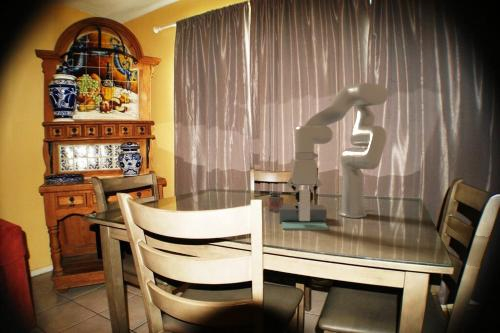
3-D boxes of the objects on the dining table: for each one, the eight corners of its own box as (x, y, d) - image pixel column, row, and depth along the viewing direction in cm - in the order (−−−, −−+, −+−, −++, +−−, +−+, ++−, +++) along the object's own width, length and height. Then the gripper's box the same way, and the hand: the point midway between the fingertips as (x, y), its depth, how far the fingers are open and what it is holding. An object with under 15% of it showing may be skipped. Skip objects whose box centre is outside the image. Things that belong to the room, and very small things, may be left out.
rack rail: (322, 217, 130) (322, 204, 130) (326, 223, 122) (326, 209, 121) (278, 217, 132) (278, 204, 131) (279, 223, 123) (279, 209, 122)
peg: (308, 218, 119) (308, 189, 118) (309, 220, 115) (310, 191, 113) (298, 218, 119) (298, 189, 118) (299, 220, 115) (299, 191, 114)
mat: (324, 224, 121) (324, 222, 121) (328, 230, 113) (328, 228, 113) (281, 223, 122) (281, 222, 122) (282, 229, 114) (282, 227, 114)
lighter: (267, 211, 143) (267, 191, 142) (269, 209, 146) (269, 190, 145) (282, 213, 139) (282, 193, 138) (284, 211, 142) (284, 191, 141)
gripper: (323, 156, 118) (323, 199, 119) (283, 156, 119) (283, 199, 120) (327, 157, 110) (326, 203, 112) (284, 157, 111) (284, 203, 113)
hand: (304, 201), depth 116 cm, fingers closed on peg, 4 cm apart
